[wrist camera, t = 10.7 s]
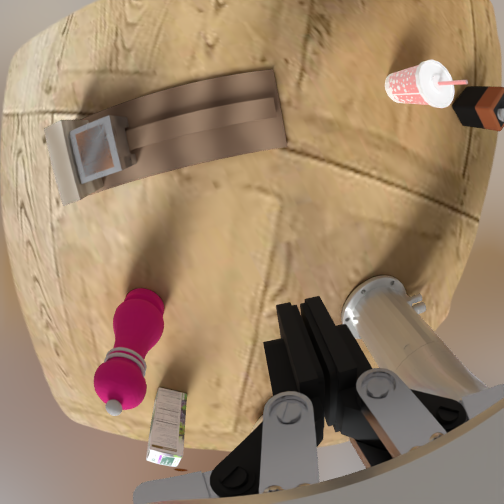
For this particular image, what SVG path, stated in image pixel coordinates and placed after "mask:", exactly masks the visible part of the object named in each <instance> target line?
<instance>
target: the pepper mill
mask: <svg viewBox="0 0 504 504" xmlns="http://www.w3.org/2000/svg"><path fill="white" fill-rule="evenodd" d="M163 314H164V304H163V301H162V300H161V298H160V297H159V296H158V295H157V294H156V293H155V292H153V291H151V290H148V289H144V288H138V289H134V290H132V291H130V292H129V293H128V294H127V296H126V298H125V300H124V302H123V303H121V304H120V305H119V306H118V308H117V309H116V311H115V314H114V318H113V328H114V333H115V344H114V348H113V349H111V350H110V351H109V352H108V353H107V355H106V358H105V361H104V363H102V364H101V365H100V366H99V367H98V368H97V370H96V372H95V376H94V387H95V391H96V393H97V395H98V396H99V397H100V399H101V400H102V401H103V402H104V403H106V410H107V412H108V413H109V414H111V415H113V416H117V415H119V414H120V413H121V412H122V410H127V409H132V408H135V407H136V406H138V405H139V404H140V403H141V402H142V401H143V399H144V397H145V394H146V388H147V385H146V382H145V378H144V377H145V371H146V363H145V361H144V359H145V356H146V354H147V353H148V351H149V350H150V349H151V348H152V347H153V346H154V345H155V344H156V343H157V342H158V341H159V339H160V337H161V335H162V332H163V329H164V321H163Z"/></svg>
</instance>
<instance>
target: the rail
mask: <svg viewBox="0 0 504 504" xmlns="http://www.w3.org/2000/svg"><path fill="white" fill-rule="evenodd" d="M109 115H112V116H121V117H127V120H128V125H129V127H128V128H125V132H126V137H127V141H128V145H129V150H130V154H134V153H135V156H136V160H137V164H135V165H133V166H130V167H128V168H126V169H124V170H122V171H119V172H115V173H112V174H109V175H106V176H103V177H101V178H98V179H95V180H92V181H89V182H86V183H84V184H81V180H80V177H79V173H78V169H77V165H76V161H75V157H74V153H73V148H72V144H71V139H70V134H69V132H70V131H72V130H74V129H76V128H79V127H81V126H83V125H86V124H88V123H91V122H93V121H96V120H98V119H101V118H103V117H106V116H109ZM44 131H45V136H46V141H47V146H48V151H49V155H50V160H51V164H52V168H53V172H54V176H55V179H56V183H57V187H58V190H59V194H60V197H61V200H62V204H63V206H65V205H67V204H70V203H73V202H76V201H79V200H81V199H83V198H84V197H86V196H88V195H91V194H94V193H97V192H100V191H103V190H106V189H109V188H112V187H116V186H119V185H122V184H125V183H129V182H132V181H135V180H139V179H142V178H146V177H149V176H153V175H156V174H160V173H164V172H168V171H171V170H175V169H179V168H183V167H187V166H191V165H196V164H200V163H204V162H209V161H213V160H218V159H222V158H227V157H232V156H237V155H242V154H247V153H253V152H258V151H264V150H270V149H276V148H282V147H287V142H286V136H285V130H284V125H283V119H282V113H281V108H280V103H279V97H278V92H277V87H276V82H275V77H274V72H273V69H271V70H262V71H254V72H247V73H241V74H235V75H229V76H223V77H218V78H213V79H208V80H203V81H199V82H194V83H190V84H186V85H182V86H178V87H174V88H170V89H166V90H163V91H159V92H156V93H152V94H149V95H146V96H143V97H139V98H136V99H133V100H130V101H127V102H124V103H122V104H119V105H116V106H113V107H110V108H108V109H105V110H103V111H100V112H97V113H95V114H93V115H90V116H88V117H85V118H83V119H81V120H60V121H58V122H56V123H54V124H52V125H50V126H48V127H46V128H44Z"/></svg>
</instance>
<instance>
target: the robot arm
mask: <svg viewBox="0 0 504 504" xmlns="http://www.w3.org/2000/svg"><path fill="white" fill-rule="evenodd" d="M419 301H422V296H421V294H420V293H419V294H416V295H414V296H412V297H410V296H408V295H407V294H406V290H405V288H404V286H403V284H402V283H401V282H400V281H399V280H398V279H396V278H395V277H392V276H387V275H382V276H377V277H373V278H371V279H369V280H367V281H365V282H363V283H362V284H360V285H359V286H358V287H357V288H356V289H355V290H354V291H353V292H352V293H351V294H350V296H349V297H348V299H347V300H346V302H345V304H344V306H343V310H342V315H341V320H342V325H338V326H335V324H334V322H333V320H332V318H331V316H330V315H329V313H328V311H327V309H326V307H325V305H324V304H323V302H322V300H321V298H320V297H319V296H317V297H312V298H307V299H305V303H302V304H300V309H301V315H300V312H299V310H298V307H297V305H293V306H292V305H291V303H290V302H289V303H284V304H279V305H276V309H277V315H278V322H279V328H280V335H281V339H276V340H271V341H266V342H263V344H264V349H265V354H266V360H267V365H268V371H269V376H270V381H271V387H272V392H273V397H272V398H271V399H269V400H268V402H267V403H266V405H265V407H264V411H263V421H262V422H261V423H260V424H259V425H258V426H257V427H256V428H255V429H254V430H253V432H252V433H251V434H250V435H249V436H248V437H247V438H246V439H245V440H244V441H242V442H241V443H240V444H239V445H238V446H237V447H236V448H235V449H234V450H233V451H232V452H231V453H230V454H229V455H228V456H227V457H226V458H225V459H224V460H223V461H221V462H220V463H219V464H218V465H217V466H216V467H215V469H214V470H212V471H208V472H204V473H202V471H199V472H194V473H190V474H185V475H181V476H176V477H170V478H165V479H159V480H153V481H147V482H144V483H141V484H140V485H139V486H138V487H136V489H135V491H134V493H133V502H134V504H504V384H502V385H497V386H494V387H492V388H489V387H487V386H486V385H485V384H484V383H483V382H482V381H481V380H479V379H478V378H477V377H476V376H475V375H474V374H473V373H472V372H470V371H469V370H468V369H467V368H466V367H465V366H464V365H463V364H462V362H461V361H460V360H459V359H458V358H457V357H456V356H455V355H454V354H453V353H452V351H451V350H450V349H449V348H448V347H447V346H446V345H445V343H444V342H443V341H442V340H441V339H440V338H439V337H438V335H437V334H436V333H435V332H434V331H433V330H432V329H431V327H430V326H429V325H428V324H427V323H426V322H425V321H424V320H423V319H422V317H421V316H420V315H419V314H420V313H423V312H425V311H426V306H425V303H424V302H420V303H417V302H419ZM413 303H417V304H415V305H413V306H412V304H413ZM355 338H357V339H362V340H363V342H364V344H365V345H366V347H367V348H368V350H369V352H370V353H371V355H372V357H373V358H374V360H375V361H376V363H377V365H378V366H379V368H374V369H372V367H371V365H370V364H369V362H368V360H367V358H366V357H365V355H364V353H363V351H362V350H361V348H360V346H359V345H358V343H357V341H356V339H355ZM324 416H325V419H326V422H327V425H328V426H332V425H333V427H334V430H335V432H338V431H340V432H341V434H343V435H346V436H348V437H349V439H350V442H351V444H352V445H353V447H354V449H355V450H356V452H357V454H358V456H359V457H360V459H361V460H362V462H363V464H364V466H365V467H366V469H364V470H361V471H358V472H355V473H352V474H349V475H345V476H342V477H338V478H335V479H331V480H327V481H324V482H320V483H319V471H318V457H317V446H318V445H319V444H320V442H321V441H322V440H323V428H324Z"/></svg>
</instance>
